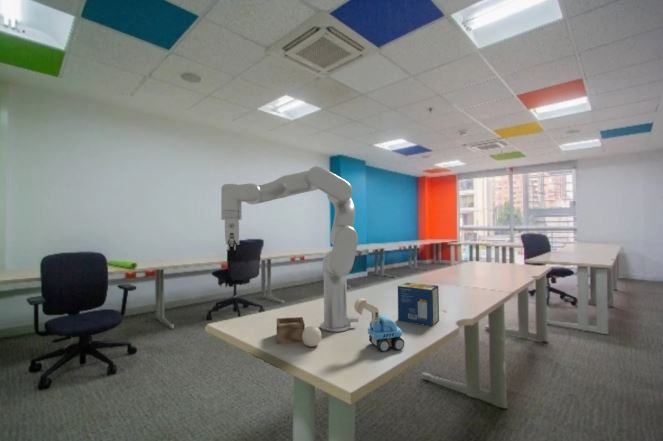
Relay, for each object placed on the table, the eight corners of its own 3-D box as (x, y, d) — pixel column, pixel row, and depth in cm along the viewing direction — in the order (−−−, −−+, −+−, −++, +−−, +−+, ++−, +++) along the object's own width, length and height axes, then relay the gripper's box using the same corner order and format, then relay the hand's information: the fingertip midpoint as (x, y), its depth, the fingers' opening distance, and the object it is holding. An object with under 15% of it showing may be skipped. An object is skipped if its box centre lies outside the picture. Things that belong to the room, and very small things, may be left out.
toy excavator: (351, 346, 107) (350, 296, 108) (394, 340, 112) (393, 293, 112) (360, 355, 99) (359, 302, 99) (406, 349, 103) (405, 298, 104)
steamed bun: (321, 341, 111) (321, 323, 112) (321, 349, 104) (321, 329, 104) (302, 341, 111) (302, 323, 111) (301, 349, 104) (301, 329, 104)
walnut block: (302, 333, 121) (302, 316, 121) (304, 342, 111) (304, 324, 111) (276, 335, 119) (276, 318, 119) (276, 344, 109) (276, 326, 109)
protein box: (406, 315, 145) (406, 282, 146) (439, 320, 136) (438, 285, 137) (397, 320, 137) (396, 285, 137) (432, 326, 128) (431, 289, 128)
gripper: (242, 215, 113) (242, 261, 112) (240, 217, 129) (240, 257, 128) (220, 214, 110) (220, 262, 110) (221, 216, 126) (221, 258, 126)
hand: (231, 260), depth 119 cm, fingers open, 9 cm apart
